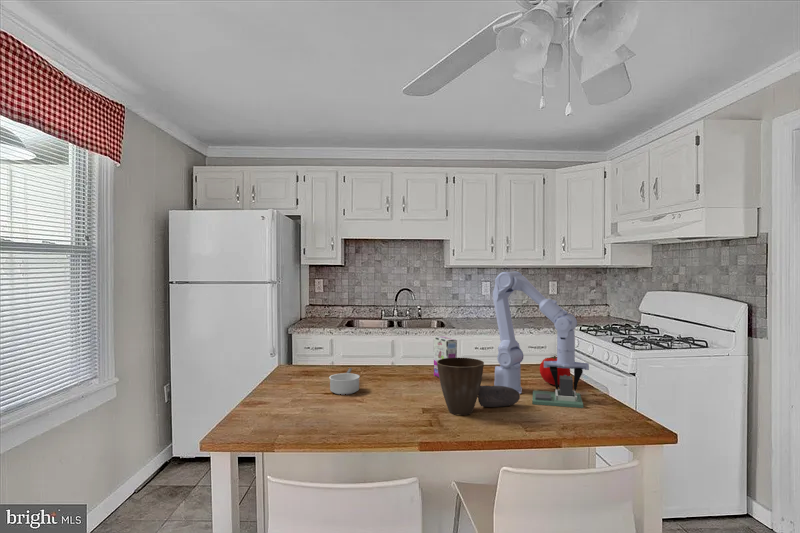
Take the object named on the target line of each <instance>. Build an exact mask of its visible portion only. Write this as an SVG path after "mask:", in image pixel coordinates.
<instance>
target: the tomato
mask: <svg viewBox="0 0 800 533" xmlns="http://www.w3.org/2000/svg"><path fill="white" fill-rule="evenodd" d="M544 361H557V355H553V356H550V357H545V358H544V359H542V361H541V362H540V365H539V373H540V376H541V378H542V379H543V380H544V382H546V383H548V384H550V385H554V386H556V385H555V381H554V378H553V376H552V374H551V371H550V367H547V368H544ZM557 371H558V386H560V376H564V375H567V376H571V369H569V368H557Z"/></svg>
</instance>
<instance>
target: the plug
mask: <svg viewBox="0 0 800 533" xmlns="http://www.w3.org/2000/svg"><path fill="white" fill-rule="evenodd" d="M559 389H560V396H573V390H574V380H573V376H571V375H570V376H567V375H564V376H560V385H559Z"/></svg>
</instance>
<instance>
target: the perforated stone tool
mask: <svg viewBox="0 0 800 533" xmlns="http://www.w3.org/2000/svg"><path fill="white" fill-rule="evenodd" d="M520 396H521V395H520V394H519V392H518V391H516V390H515V389H513V388H510V387H505V386H494V385H480V389H479V393H478V397H477V400H478V404H479V406H480V407H485V408H499V407H508V406H514V405H515V404H517V403H518V402H519V401H520V398H521V397H520Z"/></svg>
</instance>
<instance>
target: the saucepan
mask: <svg viewBox="0 0 800 533" xmlns="http://www.w3.org/2000/svg"><path fill="white" fill-rule="evenodd" d="M352 369H353V368H352V367H349V368H348V370H347V371H346V372H344V373H335V374H331V375H330V376H328V378H329V390H330V392H332V393H334V394H335V395H340V394H341V396H342V395H343V396H344V395H345V394H346V395H352V394H354V393H356V392H358V391H359V390H360V378H361V376H360V374H356V373H351V372H352Z"/></svg>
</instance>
